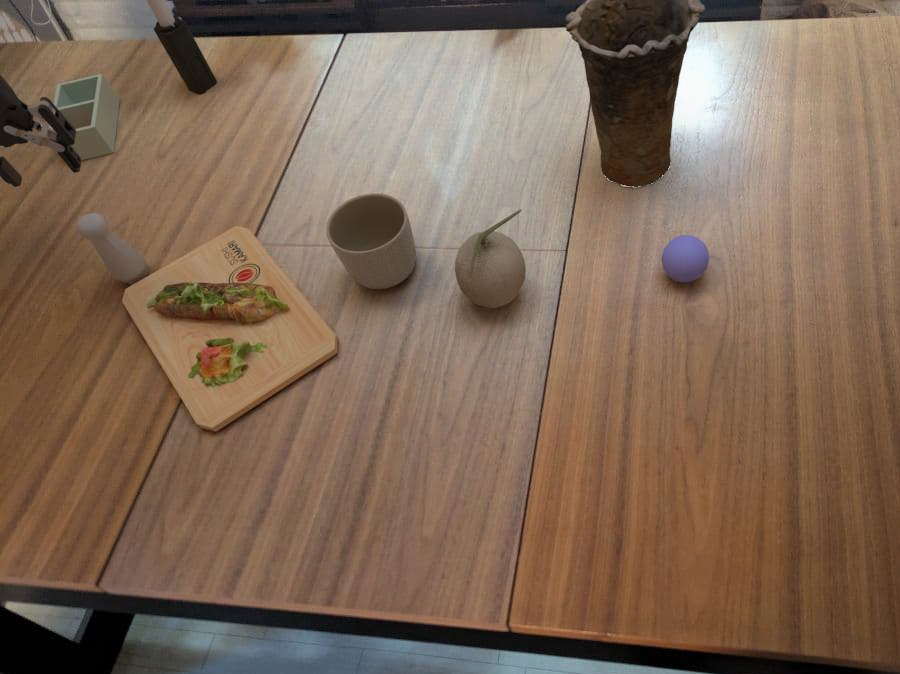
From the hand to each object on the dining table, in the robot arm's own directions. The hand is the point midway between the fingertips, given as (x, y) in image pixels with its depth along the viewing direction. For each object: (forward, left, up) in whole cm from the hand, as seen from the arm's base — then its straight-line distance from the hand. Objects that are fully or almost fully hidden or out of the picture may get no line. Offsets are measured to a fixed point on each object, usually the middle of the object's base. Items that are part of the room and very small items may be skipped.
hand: (48, 175), depth 102 cm
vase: (+87, -2, -22) cm, 90 cm away
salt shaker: (0, 0, -22) cm, 22 cm away
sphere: (+87, -29, -22) cm, 94 cm away
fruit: (+58, -24, -22) cm, 66 cm away
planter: (+42, -13, -22) cm, 49 cm away
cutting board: (+16, -16, -22) cm, 31 cm away
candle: (+11, +51, -22) cm, 57 cm away
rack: (-11, +44, -22) cm, 50 cm away
